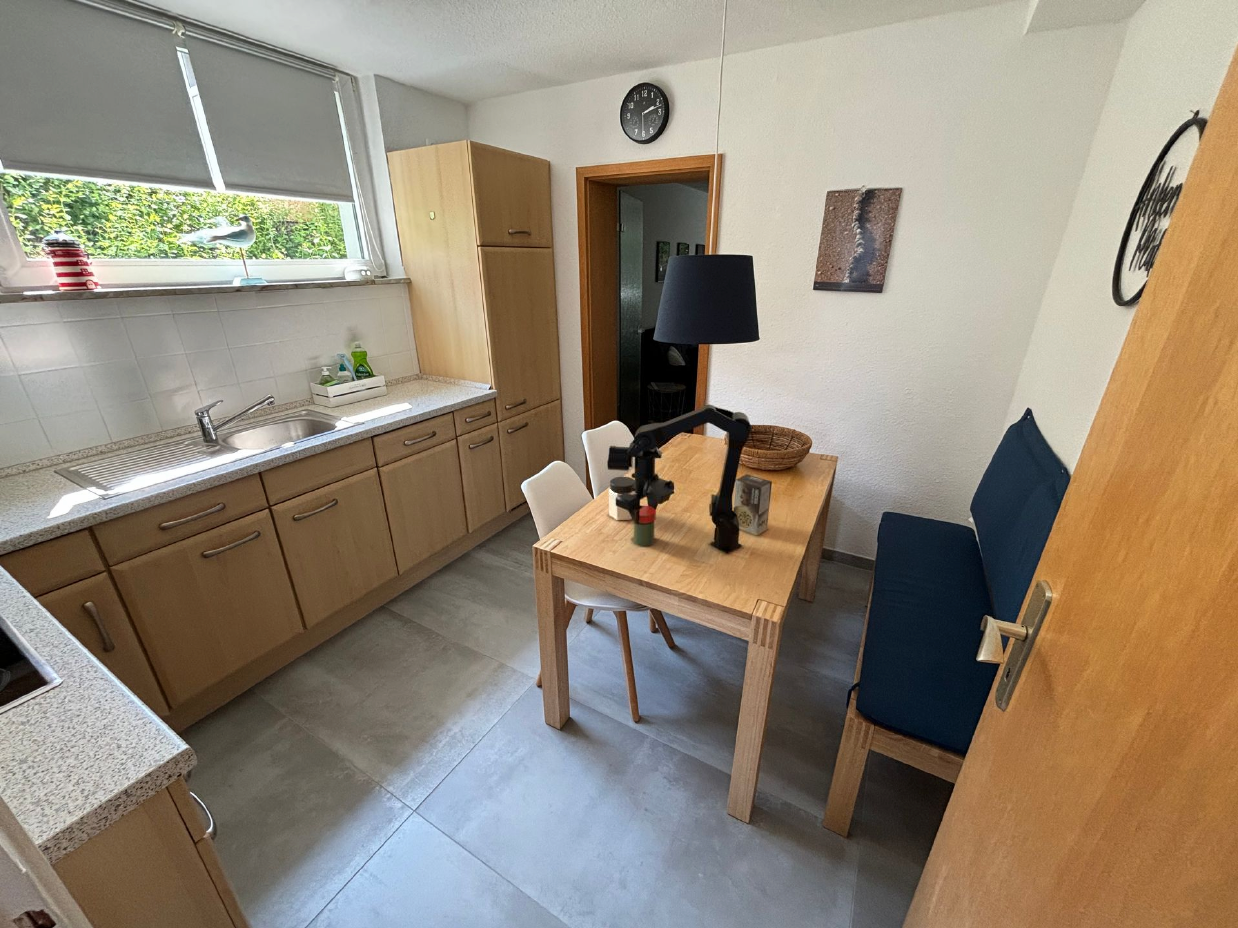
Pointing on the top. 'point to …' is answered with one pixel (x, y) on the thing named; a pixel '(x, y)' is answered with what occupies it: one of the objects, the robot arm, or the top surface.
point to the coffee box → (752, 503)
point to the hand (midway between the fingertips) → (644, 520)
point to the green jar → (644, 533)
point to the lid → (647, 514)
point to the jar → (617, 489)
